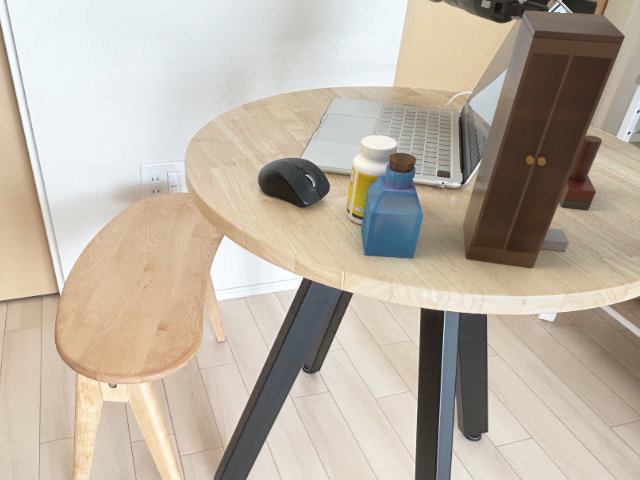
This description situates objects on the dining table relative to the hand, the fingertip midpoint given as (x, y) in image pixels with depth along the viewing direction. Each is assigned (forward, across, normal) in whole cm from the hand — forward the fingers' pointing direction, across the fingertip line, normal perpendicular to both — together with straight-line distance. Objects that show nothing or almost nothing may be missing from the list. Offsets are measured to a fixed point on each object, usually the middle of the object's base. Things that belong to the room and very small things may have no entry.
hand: (569, 13), depth 79 cm
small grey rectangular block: (+20, -13, +22) cm, 32 cm away
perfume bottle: (+13, -33, +23) cm, 42 cm away
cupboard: (+18, -20, +23) cm, 35 cm away
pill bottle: (+6, -32, +23) cm, 40 cm away
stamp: (+11, 0, +23) cm, 25 cm away
